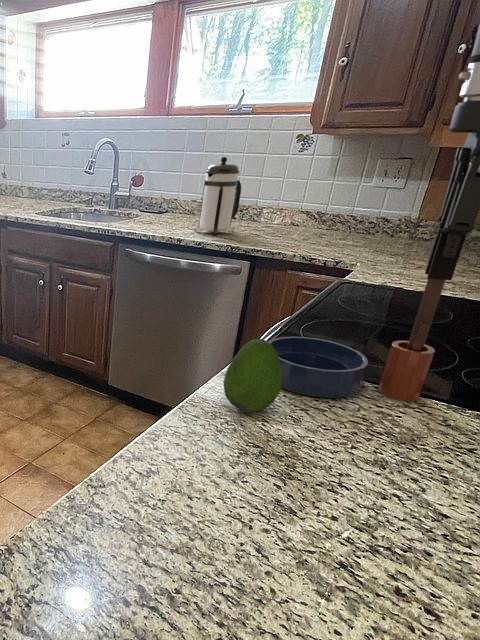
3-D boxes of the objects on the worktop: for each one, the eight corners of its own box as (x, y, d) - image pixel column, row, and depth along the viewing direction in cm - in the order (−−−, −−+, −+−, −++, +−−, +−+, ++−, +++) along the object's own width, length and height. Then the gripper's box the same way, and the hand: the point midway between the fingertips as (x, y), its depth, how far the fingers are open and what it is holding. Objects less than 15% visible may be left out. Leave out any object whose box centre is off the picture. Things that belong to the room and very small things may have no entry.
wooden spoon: (403, 351, 84) (451, 196, 75) (418, 354, 83) (469, 197, 74) (405, 358, 82) (455, 199, 72) (421, 361, 81) (474, 200, 71)
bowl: (315, 361, 99) (322, 334, 97) (381, 397, 86) (391, 367, 83) (242, 367, 97) (247, 339, 95) (297, 406, 83) (305, 375, 81)
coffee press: (235, 237, 212) (248, 157, 200) (194, 235, 217) (204, 157, 205) (234, 229, 227) (246, 155, 215) (195, 228, 232) (205, 155, 220)
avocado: (254, 427, 78) (269, 352, 73) (209, 406, 84) (221, 336, 79) (285, 412, 82) (301, 341, 77) (240, 393, 88) (253, 326, 83)
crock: (396, 388, 88) (412, 339, 85) (426, 404, 83) (444, 352, 80) (368, 391, 88) (383, 341, 84) (396, 407, 83) (413, 354, 79)
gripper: (448, 102, 76) (401, 263, 85) (468, 98, 64) (411, 286, 73) (517, 99, 72) (460, 268, 81) (552, 95, 60) (481, 292, 70)
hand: (437, 276), depth 77 cm, fingers closed on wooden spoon, 2 cm apart
